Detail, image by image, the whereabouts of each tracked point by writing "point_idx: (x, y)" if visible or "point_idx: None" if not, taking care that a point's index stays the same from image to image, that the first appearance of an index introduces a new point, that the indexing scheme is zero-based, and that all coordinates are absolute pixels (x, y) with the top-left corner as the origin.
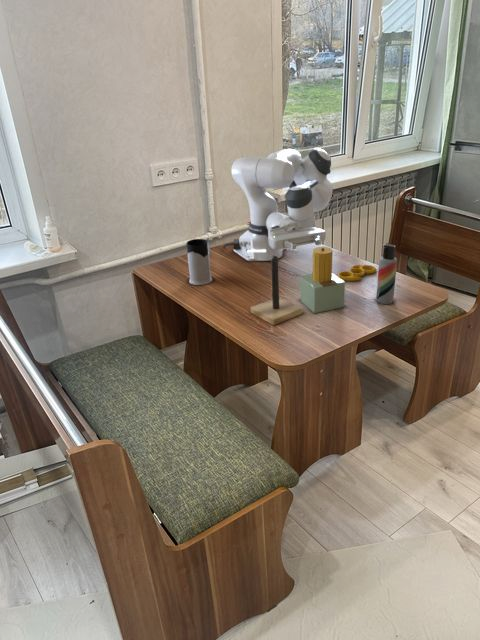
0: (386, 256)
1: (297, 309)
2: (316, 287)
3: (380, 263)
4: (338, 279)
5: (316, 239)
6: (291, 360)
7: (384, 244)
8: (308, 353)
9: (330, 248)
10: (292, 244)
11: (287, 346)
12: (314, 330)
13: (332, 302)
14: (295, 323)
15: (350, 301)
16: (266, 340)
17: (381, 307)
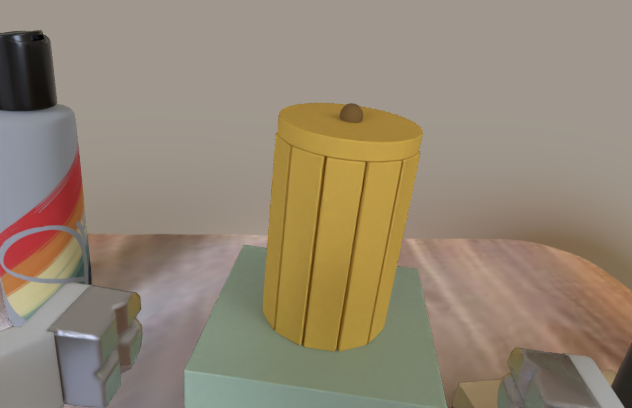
0: (55, 88)
1: (483, 383)
2: (406, 269)
3: (70, 135)
4: (247, 269)
5: (103, 315)
6: (545, 251)
7: (10, 39)
8: (495, 250)
9: (282, 113)
10: (583, 359)
11: (551, 286)
12: (442, 302)
13: None
14: (501, 360)
15: (166, 376)
16: (625, 331)
17: (123, 288)
